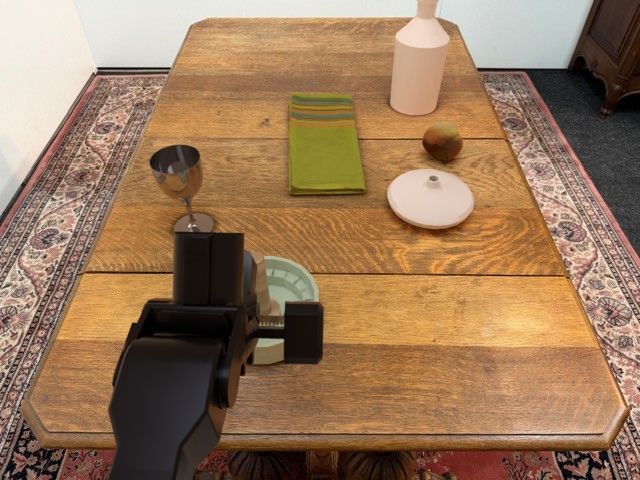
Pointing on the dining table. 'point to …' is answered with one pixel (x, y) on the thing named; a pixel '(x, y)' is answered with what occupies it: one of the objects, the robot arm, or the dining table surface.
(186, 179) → the wine glass
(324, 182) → the dish towel
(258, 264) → the beige piece
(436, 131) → the fruit
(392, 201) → the flat round vase
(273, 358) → the bowl
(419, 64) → the bottle
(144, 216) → the dining table surface
